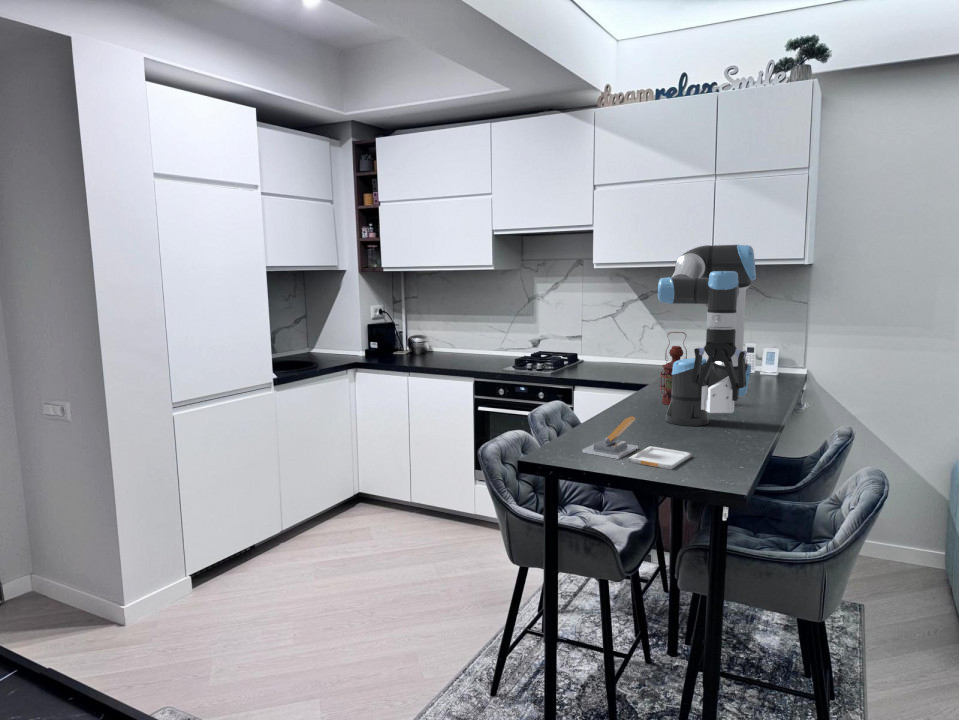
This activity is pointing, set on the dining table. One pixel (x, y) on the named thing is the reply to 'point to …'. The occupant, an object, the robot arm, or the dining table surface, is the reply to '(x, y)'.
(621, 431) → the block
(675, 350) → the lantern
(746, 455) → the dining table surface
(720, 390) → the white wedge bracket
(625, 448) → the panel
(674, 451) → the tray
